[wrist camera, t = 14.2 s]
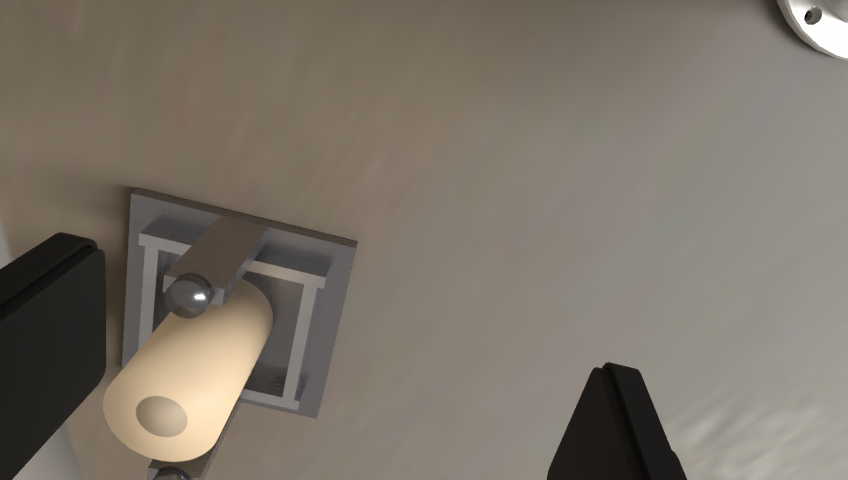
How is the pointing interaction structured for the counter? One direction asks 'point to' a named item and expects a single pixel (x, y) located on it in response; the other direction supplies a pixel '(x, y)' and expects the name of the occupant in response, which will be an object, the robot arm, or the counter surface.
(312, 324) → the stand
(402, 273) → the counter surface
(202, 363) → the paper roll
